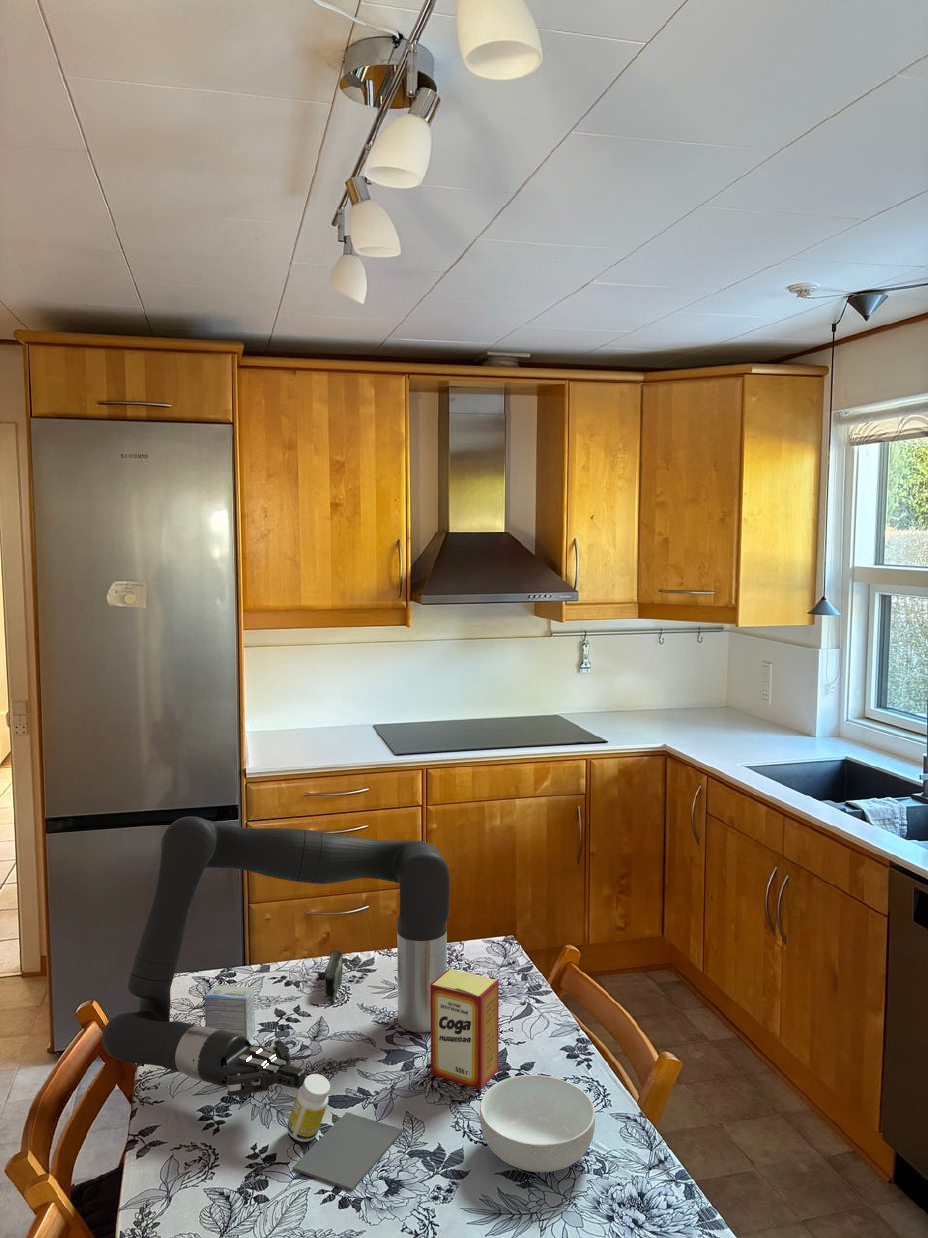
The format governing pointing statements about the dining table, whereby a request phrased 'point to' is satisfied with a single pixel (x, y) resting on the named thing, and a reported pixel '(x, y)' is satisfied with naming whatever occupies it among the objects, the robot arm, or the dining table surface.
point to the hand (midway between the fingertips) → (302, 1079)
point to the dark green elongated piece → (333, 975)
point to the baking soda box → (464, 1028)
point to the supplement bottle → (309, 1108)
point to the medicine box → (231, 1010)
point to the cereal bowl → (537, 1122)
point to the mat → (348, 1151)
